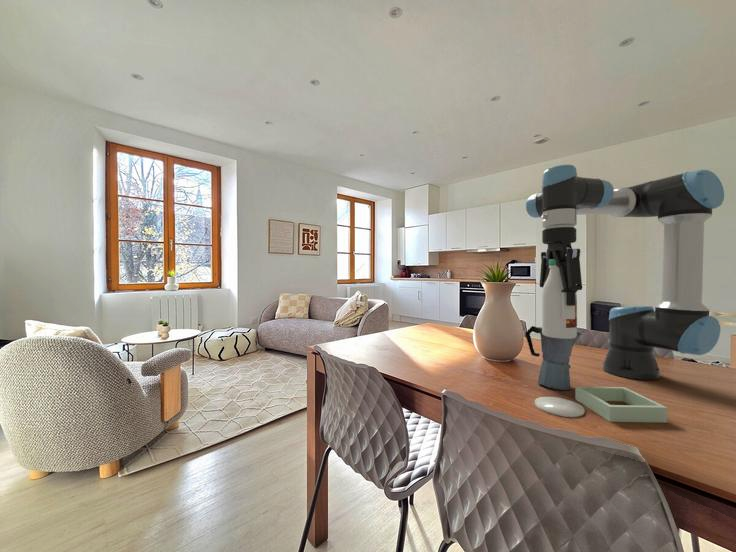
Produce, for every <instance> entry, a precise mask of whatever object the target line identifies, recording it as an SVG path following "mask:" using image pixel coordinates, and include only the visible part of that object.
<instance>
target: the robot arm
mask: <svg viewBox="0 0 736 552" xmlns="http://www.w3.org/2000/svg"><path fill="white" fill-rule="evenodd" d="M614 188H615V187H614V186H613V184H612V183H611V182H610V181H608V180H604V179H600V178H591V177H582V176H578V171H577V168H576V167H575V165H573V164H560V165H555V166H551V167H549V168H547V169H546V170H545V171H543V173H542V183H541V191H540V192H536V193H534V194H532V195H531V196H529V197H528V198H527V200H526V203H525V211H526V212H527V214H528V216H530V217H532V218H536V219H537V218H541V219H542V228H544V229H543V230H541V231H542V233H541V236H542V237H541V239H542V240H541V241H542V244H543V245H547V250H546V251H542V252H540V259H541V262H540V263H541V265H540V272H539V273H540V275H539V276H540V277H539V288H543V287H544V284H545V282H546V280H547V278H548V275H549V272H550V268H549V266H550V265H549V260H550V259H555V262H556V266H557V267H559V270H560V274H561V279H562V283H563V287H564V289H563V290H562V291H561V292H562V319H575V293H576V294H577V292H578V291H582V289H583V283H582V282H583V281H582V272H581V261H580V257H581V248H573V247H572V244H573V243H576V242H577V228H576V227H575V226H577V222H578V221H577V220H578V219H577V215H580V216H581V215H582V216H583V215H585V216H586V215H610V216H612V217H617V218H621V217H622V218H654V217H657V221H658V222H659V223H661V224H663V225H662V226H663V255H662V256H663V257H662V258H663V259H662V284H661V285H662V290H661V291H662V292H661V293H662V294H661V302H659V303H658V304H656V305H655V307H653V306H652V305H651V306H650V305H647V306H646V305H644V306H643V305H642V306H638V305H637V306H615V307H612V308H611V309H610V310H609V315H608V316H609V317H608V328H609V331H608V333H609V334H608V337H609V338H608V339H609V341H608V343H609V344H608V345H609V346H608V350H607V352H606V355H605V358H604V360H603V361H602V370H603V371H604V372H606V373H608V374H611V375H614V376H619V377H622V378H628V379H634V380H643V381H644V380H646V381H651V380H652V381H655V380H659V379H661V370H660V368H659V366H658V363H657V360H656V357H655V354H654V348H656V349H662V350H666V351H672V352H678V353H679V354H683V355H687V354H689V355H695V356H702V355H706V354H708V353H710V352H711V351H712V350H713V349H714V348H715V346H716V345H717V344H718V341H719V340H720V335H721V324H720V321H719V320H718V319H717V317H713V316H712V315H710V309H709V308H708V307H707V306H705V305H704V304H703V281H704V280H703V275H704V245H705V244H704V243H705V241H704V239H705V237H704V236H705V223H706V221H707V220H709V219H710V218H712V217H713V210H714V209H718V208H719V207H721V206H722V205H723V202H724V200H725V190H724V189H725V188H724V186H723V184H722V181H721V180H720V178H719V177H718V176H717V174H716V173H714V172H713V171H710V170H709V169H708V170H707V169H698V170H693V171H685V172H683V173H680V174H676V175H672V176H667V177H663V178H659V179H654V180H651V181H647V182H643V183H640V184H635V185H633V186H628V187H618V188H616V189H614ZM568 286H569V287H568ZM654 308H655V309H654Z"/></svg>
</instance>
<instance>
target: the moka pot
mask: <svg viewBox="0 0 736 552" xmlns="http://www.w3.org/2000/svg"><path fill="white" fill-rule="evenodd" d="M531 333H535V334H540V344H541V352H542V354H541V356H542V360H541V366H540V370H539V374H538V379H537V384H540V385H541V386H543V387H545V388H548V389H549V388H550V389H552V390H559V391H560V390H561V391H568V390H570V389H571V375H570V369H571V365H570V364H569V363H570V360H571V359H570V358H571V356H572V351H573V347H574V345H576V342H577V341H578V339H579V337H580V336H582V333H581V332H579V331H577V336H576V338H572V339H562V338H552V337H547V336H544V335H543V334H542V326H541V327H539V326H538V327H537V326H534V325H531V327H530V328H528V329H527V331H526V332H525V333H524V334H525V335H524V336H525V338H526V341H527V343H528V348H529V352H530V355H531V356H533V357H540V353H538V352H537V353H536V352H535V349H534V345H533V341H532V337H531V335H530V334H531Z"/></svg>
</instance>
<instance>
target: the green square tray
mask: <svg viewBox="0 0 736 552" xmlns="http://www.w3.org/2000/svg"><path fill="white" fill-rule="evenodd" d="M574 394H575V400H576V401H577V402H579V403H580V404H582V405H584V406H585V407H586V408H587V409H589V410H591V411H593V412H594V413H596V414H597V415H598V416H600V417H602V418H604V419H605V420H606V421H607V422H609V423H616V422H617V423H668V407H667V406H664V405H663V404H661V403H659V402H656V401H655V400H653V399H650V398H648V397H646V396H643V395H642V394H640V393H638V392H636V391H633V390H631V389H629V388H627V387H625V386H624V387H623V386H575V393H574ZM608 402H624V403H626V404H625V405H624V404H621V405H620V404H618V405H617V404H610V403H608Z"/></svg>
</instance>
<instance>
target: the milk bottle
mask: <svg viewBox="0 0 736 552" xmlns="http://www.w3.org/2000/svg"><path fill="white" fill-rule="evenodd" d="M549 265H550V266H549V268H550V272H549V275H548V278H547V280H546V282H545V284H544V287H542V291H541V293H542V294H541V327H542V334H543V335H544V336H547V337H552V338H562V339H572V338H576V336H577V332H578V305H577V304H578V299H577V298H578V297H577V295H578V293H577V292H576V293H575V319H562V292H561V291H562V290H563V289H564V287H563V283H562V279H561V274H560V270H559V267H557V266H556V262H555V259H550V260H549ZM568 287H569V286H568Z"/></svg>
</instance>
